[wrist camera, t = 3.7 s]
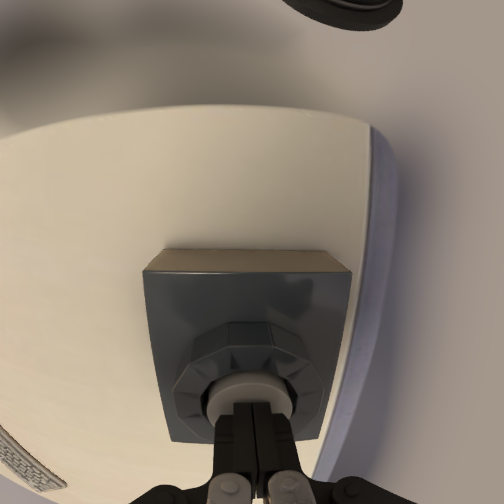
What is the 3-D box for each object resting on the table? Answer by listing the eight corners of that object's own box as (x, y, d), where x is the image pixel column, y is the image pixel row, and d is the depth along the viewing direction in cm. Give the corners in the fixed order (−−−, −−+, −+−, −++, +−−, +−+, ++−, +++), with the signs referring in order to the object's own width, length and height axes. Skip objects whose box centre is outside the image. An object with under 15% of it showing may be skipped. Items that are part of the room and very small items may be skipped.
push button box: (163, 248, 15) (125, 287, 9) (325, 250, 16) (372, 287, 10) (179, 401, 18) (166, 466, 12) (305, 399, 18) (326, 462, 13)
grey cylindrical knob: (207, 354, 12) (203, 382, 10) (288, 353, 12) (297, 381, 10) (211, 409, 13) (209, 438, 11) (281, 408, 13) (288, 436, 11)
